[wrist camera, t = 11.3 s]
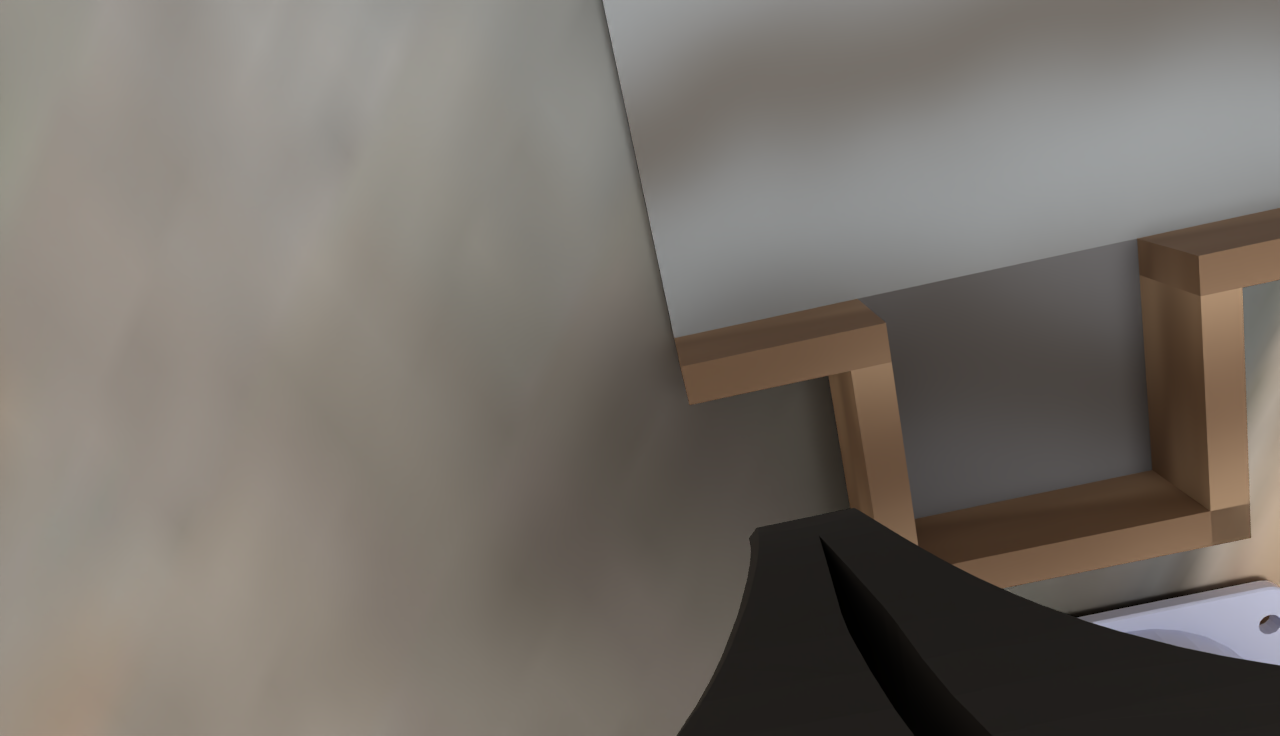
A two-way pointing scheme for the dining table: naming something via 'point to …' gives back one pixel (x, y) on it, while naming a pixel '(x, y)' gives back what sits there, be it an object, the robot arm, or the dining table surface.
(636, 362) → the dining table surface
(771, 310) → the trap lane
